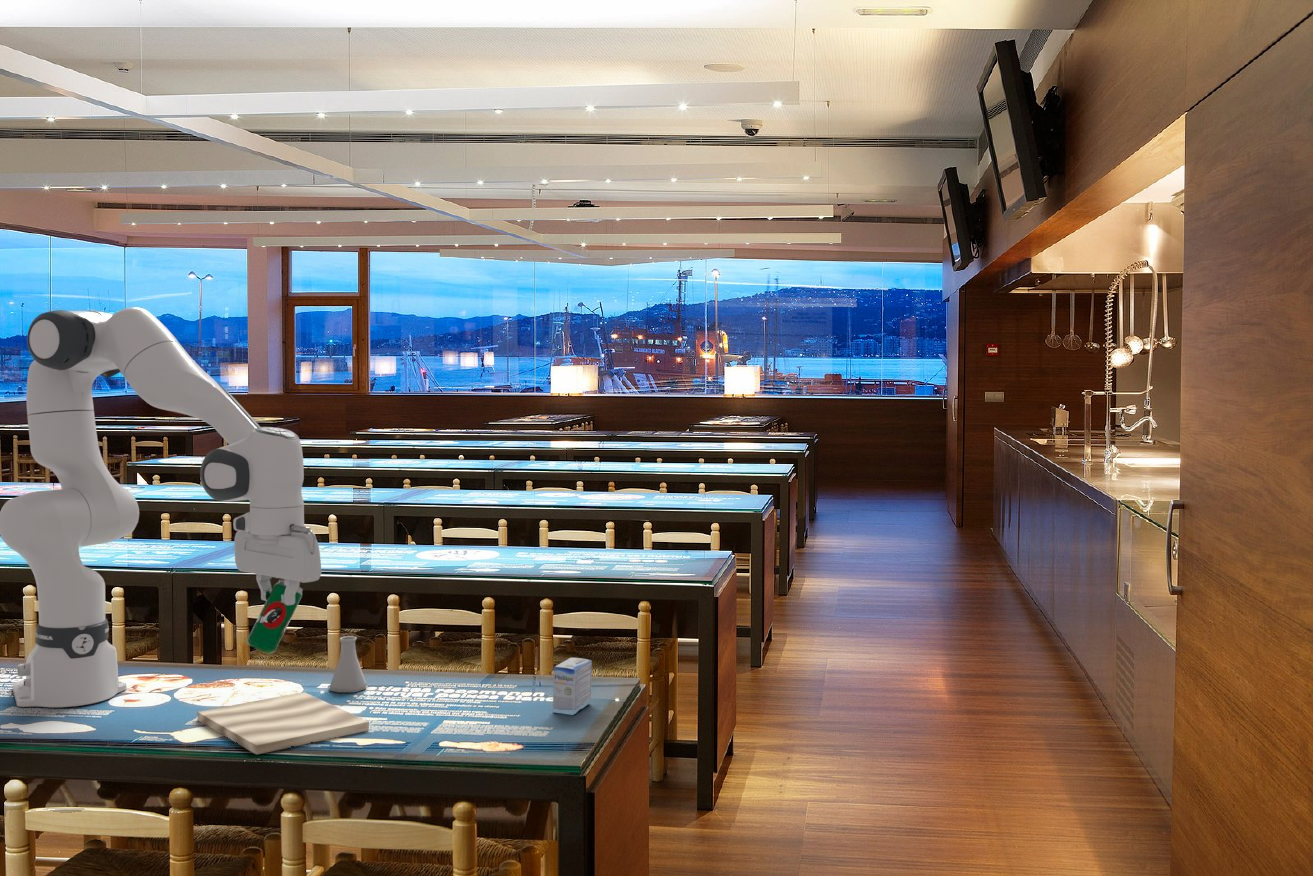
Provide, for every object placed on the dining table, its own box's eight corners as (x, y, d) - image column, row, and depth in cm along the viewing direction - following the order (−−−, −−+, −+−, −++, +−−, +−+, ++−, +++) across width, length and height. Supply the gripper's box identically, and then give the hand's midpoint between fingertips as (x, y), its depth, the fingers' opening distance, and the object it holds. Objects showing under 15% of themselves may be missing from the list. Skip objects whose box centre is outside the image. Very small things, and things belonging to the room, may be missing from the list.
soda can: (278, 656, 202) (310, 592, 206) (254, 645, 198) (286, 580, 202) (264, 652, 205) (295, 588, 209) (240, 641, 202) (272, 577, 206)
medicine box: (569, 702, 222) (570, 656, 222) (591, 705, 221) (592, 659, 221) (552, 713, 215) (552, 666, 215) (574, 716, 214) (575, 669, 213)
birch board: (197, 720, 207) (197, 711, 207) (304, 700, 221) (304, 692, 221) (256, 754, 190) (256, 745, 189) (368, 730, 203) (368, 721, 203)
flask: (356, 695, 225) (357, 643, 224) (321, 692, 226) (321, 640, 226) (373, 685, 232) (373, 635, 231) (339, 682, 233) (339, 632, 233)
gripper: (330, 525, 199) (330, 607, 199) (259, 516, 211) (259, 592, 212) (298, 529, 194) (298, 613, 194) (227, 519, 206) (228, 597, 207)
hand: (278, 602), depth 203 cm, fingers open, 4 cm apart
